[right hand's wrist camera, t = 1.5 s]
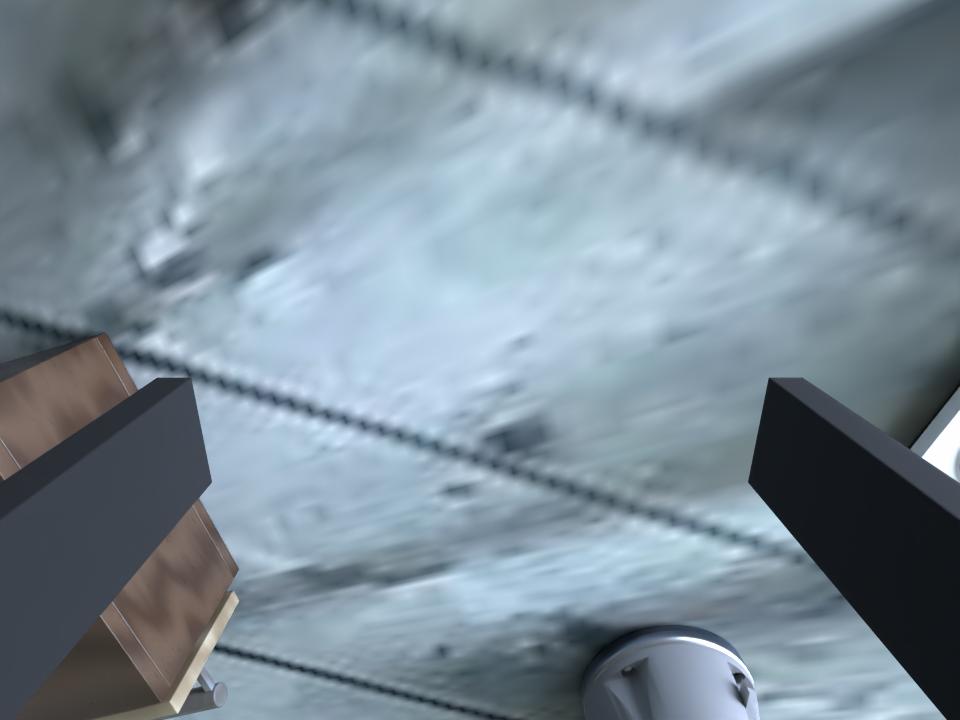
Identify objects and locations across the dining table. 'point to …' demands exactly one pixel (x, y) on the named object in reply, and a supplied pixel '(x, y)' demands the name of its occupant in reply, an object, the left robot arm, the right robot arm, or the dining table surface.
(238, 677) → the dining table surface
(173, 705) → the drawer
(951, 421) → the relief map
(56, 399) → the cabinet
